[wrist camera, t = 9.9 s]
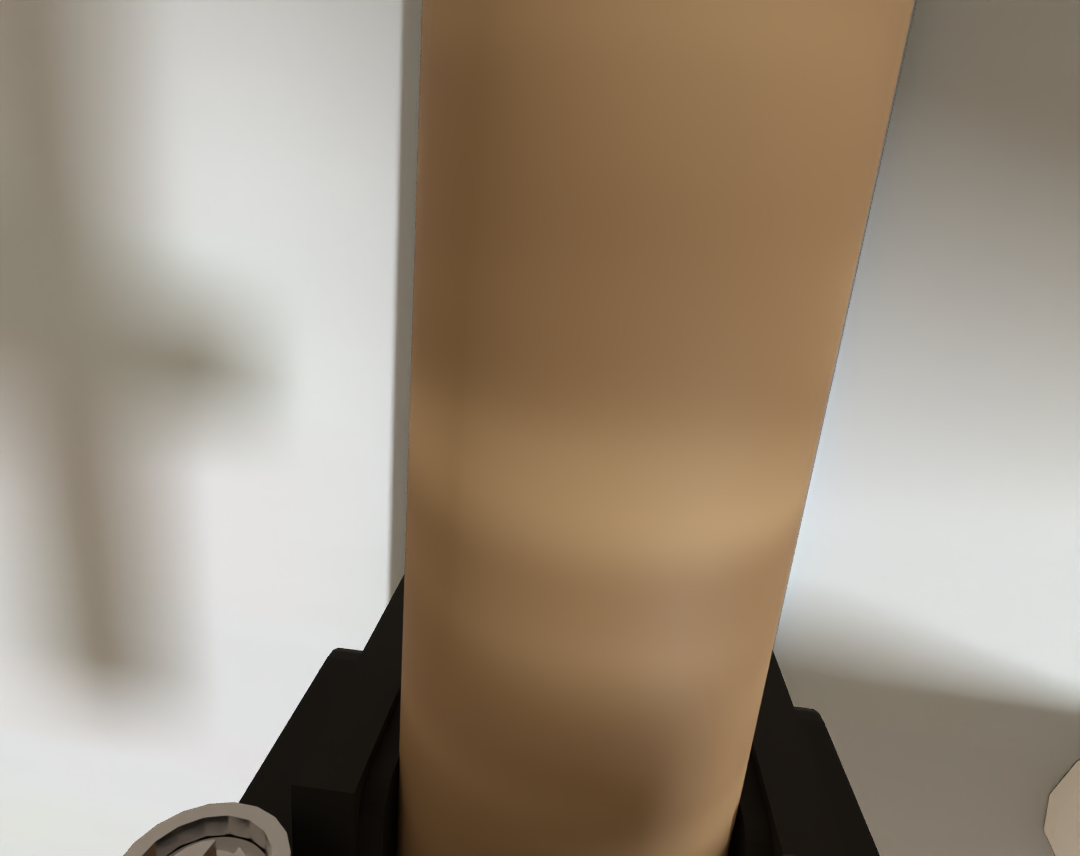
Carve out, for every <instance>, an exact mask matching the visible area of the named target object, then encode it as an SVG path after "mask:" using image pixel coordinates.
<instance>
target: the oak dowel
mask: <svg viewBox="0 0 1080 856" xmlns="http://www.w3.org/2000/svg"><path fill="white" fill-rule="evenodd" d="M913 4H914V0H422V27H421V60H420V92H419V124H418V157H417V189H416V222H415V254H414V286H413V319H412V351H411V384H410V416H409V448H408V481H407V513H406V546H405V578H404V610H403V643H402V675H401V708H400V740H399V787H398V819H397V851H396V856H728V851H729V846H730V842H731V837H732V833H733V828H734V824H735V819H736V814H737V810H738V805H739V801H740V796H741V792H742V787H743V782H744V778H745V773H746V769H747V764H748V760H749V755H750V750H751V746H752V741H753V737H754V732H755V727H756V723H757V718H758V714H759V709H760V705H761V700H762V695H763V691H764V686H765V682H766V677H767V673H768V668H769V663H770V659H771V654H772V650H773V645H774V641H775V636H776V631H777V627H778V622H779V618H780V613H781V608H782V604H783V599H784V595H785V590H786V586H787V581H788V576H789V572H790V567H791V563H792V558H793V554H794V549H795V544H796V540H797V535H798V531H799V526H800V521H801V517H802V512H803V508H804V503H805V499H806V494H807V489H808V485H809V480H810V476H811V471H812V467H813V462H814V457H815V453H816V448H817V444H818V439H819V435H820V430H821V425H822V421H823V416H824V412H825V407H826V402H827V398H828V393H829V389H830V384H831V380H832V375H833V370H834V366H835V361H836V357H837V352H838V348H839V343H840V338H841V334H842V329H843V325H844V320H845V315H846V311H847V306H848V302H849V297H850V293H851V288H852V283H853V279H854V274H855V270H856V265H857V261H858V256H859V251H860V247H861V242H862V238H863V233H864V229H865V224H866V219H867V215H868V210H869V206H870V201H871V196H872V192H873V187H874V183H875V178H876V174H877V169H878V164H879V160H880V155H881V151H882V146H883V142H884V137H885V132H886V128H887V123H888V119H889V114H890V109H891V105H892V100H893V96H894V91H895V87H896V82H897V77H898V73H899V68H900V64H901V59H902V55H903V50H904V45H905V41H906V36H907V32H908V27H909V23H910V18H911V13H912V9H913Z"/></svg>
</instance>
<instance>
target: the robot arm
mask: <svg viewBox="0 0 1080 856" xmlns="http://www.w3.org/2000/svg"><path fill="white" fill-rule="evenodd" d="M404 578H405V574H404V576H403V578H402V580H401V581H400V583H399V585H398V587H397V589H396V591H395V593H394V594H393V596H392V598H391V600H390V602H389V604H388V606H387V607H386V609H385V611H384V613H383V615H382V617H381V619H380V620H379V622H378V624H377V626H376V628H375V630H374V631H373V633H372V635H371V637H370V639H369V641H368V643H367V644H366V646H365V648H364V650H363V651H359V650H352V649H344V648H337V649H334V650H333V651H332V652H331V653H330V655H329V656H328V657H327V659H326V661H325V662H324V664H323V665H322V667H321V669H320V670H319V672H318V674H317V675H316V677H315V679H314V680H313V682H312V683H311V685H310V687H309V688H308V690H307V692H306V693H305V695H304V697H303V698H302V700H301V701H300V703H299V705H298V706H297V708H296V710H295V711H294V713H293V715H292V716H291V718H290V720H289V721H288V723H287V724H286V726H285V728H284V729H283V731H282V733H281V734H280V736H279V738H278V739H277V741H276V742H275V744H274V746H273V747H272V749H271V751H270V752H269V754H268V756H267V757H266V759H265V761H264V762H263V764H262V765H261V767H260V769H259V770H258V772H257V774H256V775H255V777H254V779H253V780H252V782H251V783H250V785H249V787H248V788H247V790H246V792H245V793H244V795H243V797H242V798H241V800H240V801H239V803H236V802H231V803H215V804H207V805H204V806H200V807H197V808H193V809H190V810H186V811H183V812H181V813H179V814H177V815H175V816H173V817H171V818H169V819H167V820H165V821H163V822H161V823H159V824H157V825H156V826H155V827H153V828H152V829H151V830H150V831H148V832H147V833H146V834H145V835H143V836H142V837H141V838H139V839H138V840H137V841H136V842H134V843H133V844H132V846H131V847H130V848H129V849H128V851H127V852H126V853H125V854H124V855H123V856H396V851H397V819H398V787H399V740H400V708H401V675H402V643H403V610H404ZM728 856H880V855H879V853H878V850H877V848H876V846H875V843H874V841H873V838H872V836H871V834H870V831H869V829H868V826H867V824H866V822H865V819H864V817H863V814H862V812H861V810H860V807H859V805H858V802H857V800H856V798H855V795H854V793H853V790H852V788H851V786H850V783H849V781H848V778H847V776H846V774H845V771H844V769H843V766H842V764H841V762H840V759H839V757H838V755H837V752H836V750H835V747H834V745H833V743H832V740H831V738H830V735H829V733H828V731H827V728H826V726H825V723H824V721H823V719H822V718H821V716H820V714H819V713H818V712H817V711H815V710H814V709H809V708H801V707H794V706H793V704H792V701H791V698H790V695H789V693H788V690H787V687H786V685H785V682H784V679H783V677H782V674H781V671H780V668H779V666H778V663H777V660H776V658H775V655H774V652H773V650H772V654H771V659H770V663H769V668H768V673H767V677H766V682H765V686H764V691H763V695H762V700H761V705H760V709H759V714H758V718H757V723H756V727H755V732H754V737H753V741H752V746H751V750H750V755H749V760H748V764H747V769H746V773H745V778H744V782H743V787H742V792H741V796H740V801H739V805H738V810H737V814H736V819H735V824H734V828H733V833H732V837H731V842H730V846H729V851H728Z"/></svg>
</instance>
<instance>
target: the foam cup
mask: <svg viewBox="0 0 1080 856" xmlns="http://www.w3.org/2000/svg"><path fill="white" fill-rule="evenodd" d="M1044 832H1045V834H1046V836H1047V838H1048V840H1049V842H1050V845H1051V847H1052V849H1053V852H1054V854H1055V856H1080V760H1079V761H1077V762H1076V763H1075V765H1074V766H1073V767H1072V768H1071V770H1070V771H1069V772H1068V773H1067V774H1066V776H1065V777H1064V778H1063V779H1062V780H1061V782H1060V783H1059V784H1058V785H1057V786H1056V788H1055V789H1054V790H1053V791H1052V793H1051V794H1050V796H1049V802H1048V808H1047V814H1046V820H1045V826H1044Z"/></svg>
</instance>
